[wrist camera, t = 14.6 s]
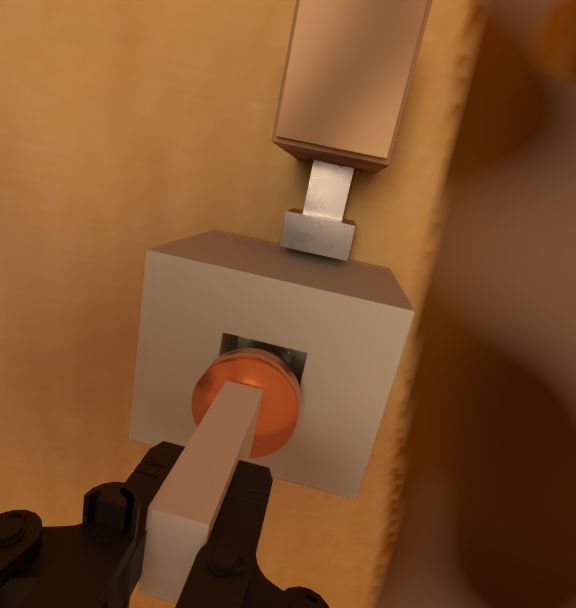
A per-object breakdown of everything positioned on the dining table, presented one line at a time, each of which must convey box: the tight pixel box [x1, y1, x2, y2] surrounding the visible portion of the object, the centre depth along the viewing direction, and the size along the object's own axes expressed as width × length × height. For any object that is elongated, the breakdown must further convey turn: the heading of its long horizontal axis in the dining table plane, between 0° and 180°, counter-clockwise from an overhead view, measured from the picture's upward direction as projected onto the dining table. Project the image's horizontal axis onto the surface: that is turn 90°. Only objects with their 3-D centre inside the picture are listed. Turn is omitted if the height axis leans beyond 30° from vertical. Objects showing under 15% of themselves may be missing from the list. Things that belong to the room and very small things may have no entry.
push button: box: [191, 339, 301, 458], centre depth 19 cm, size 4×4×6 cm
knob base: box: [128, 230, 415, 500], centre depth 24 cm, size 12×10×10 cm
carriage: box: [272, 0, 432, 174], centre depth 20 cm, size 5×7×9 cm
